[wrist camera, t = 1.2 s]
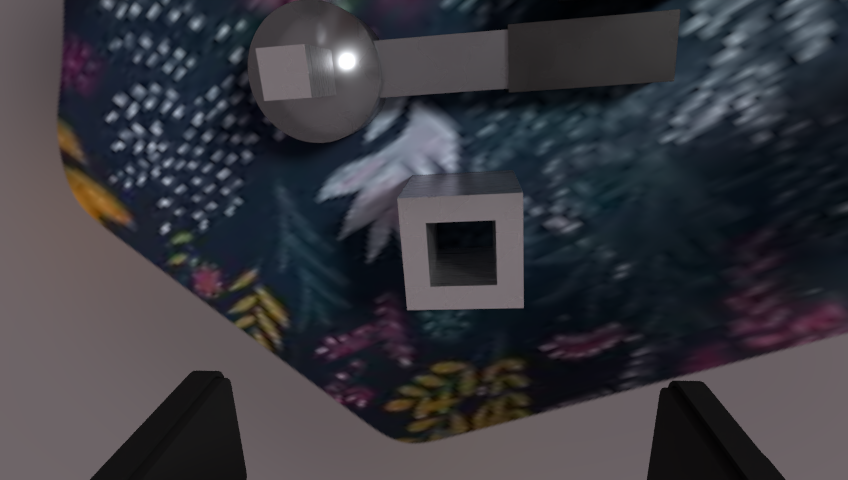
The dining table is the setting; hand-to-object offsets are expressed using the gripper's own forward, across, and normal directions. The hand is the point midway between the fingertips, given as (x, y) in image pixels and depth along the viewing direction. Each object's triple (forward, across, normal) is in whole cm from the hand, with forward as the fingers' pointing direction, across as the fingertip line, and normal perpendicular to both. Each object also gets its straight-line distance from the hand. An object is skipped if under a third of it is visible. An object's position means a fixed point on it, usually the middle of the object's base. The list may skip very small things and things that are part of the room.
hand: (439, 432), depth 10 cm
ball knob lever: (+20, 0, -8) cm, 21 cm away
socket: (+20, -1, +1) cm, 20 cm away
